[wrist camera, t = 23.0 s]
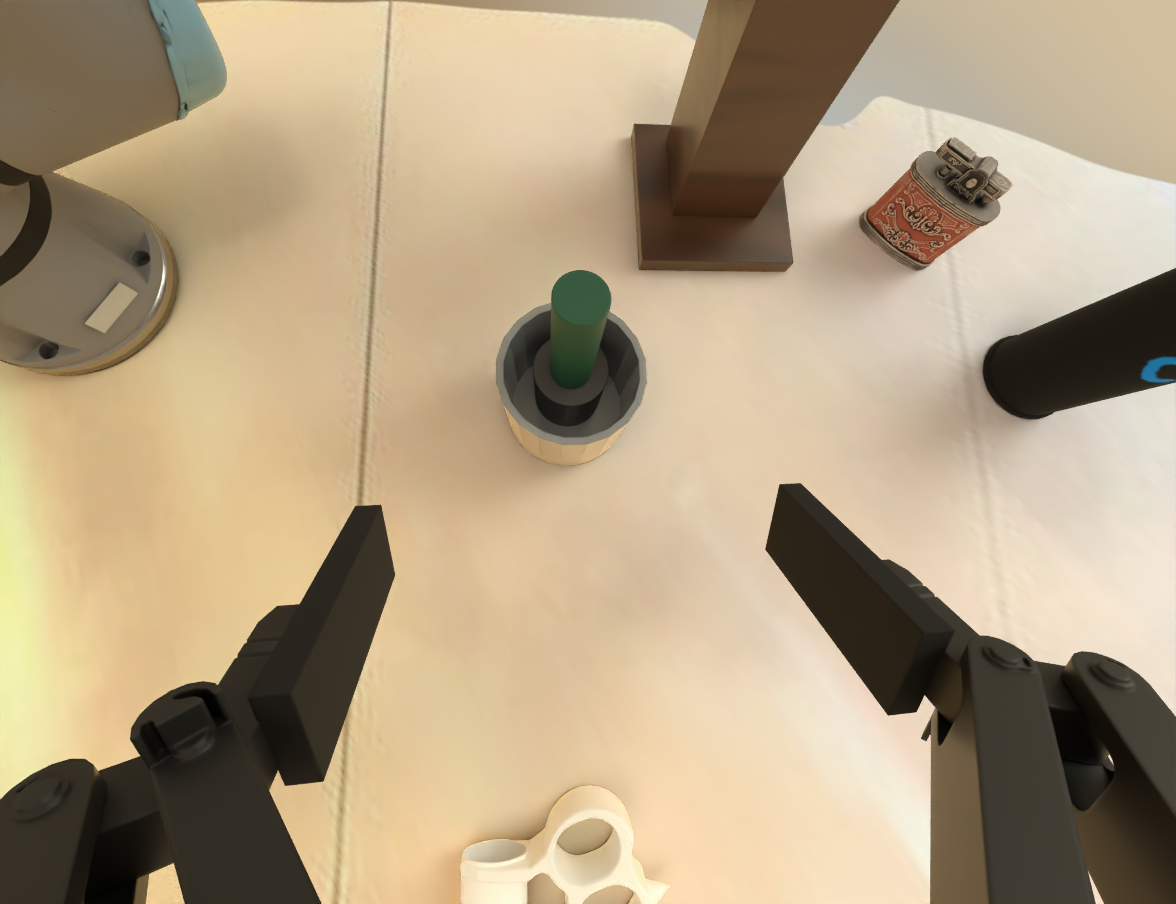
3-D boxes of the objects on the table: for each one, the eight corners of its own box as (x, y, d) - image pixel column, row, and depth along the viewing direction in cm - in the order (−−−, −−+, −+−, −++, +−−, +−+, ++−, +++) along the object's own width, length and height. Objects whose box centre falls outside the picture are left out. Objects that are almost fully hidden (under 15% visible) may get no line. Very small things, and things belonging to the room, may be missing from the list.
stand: (785, 276, 45) (1285, -266, 15) (639, 275, 44) (850, -322, 13) (770, 137, 48) (1167, -572, 17) (630, 131, 47) (792, -644, 16)
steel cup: (483, 421, 40) (465, 387, 31) (551, 331, 42) (553, 273, 33) (582, 488, 40) (592, 474, 31) (646, 394, 42) (674, 354, 33)
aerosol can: (968, 348, 46) (1287, 206, 26) (1040, 327, 47) (1399, 176, 27) (1004, 429, 44) (1366, 346, 25) (1077, 406, 46) (1480, 308, 26)
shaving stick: (638, 348, 24) (632, 248, 25) (528, 348, 23) (525, 247, 24) (600, 425, 40) (597, 364, 41) (535, 427, 40) (534, 365, 41)
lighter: (935, 254, 47) (1038, 180, 37) (918, 277, 46) (1018, 208, 37) (870, 203, 48) (955, 116, 38) (852, 226, 47) (933, 144, 37)
